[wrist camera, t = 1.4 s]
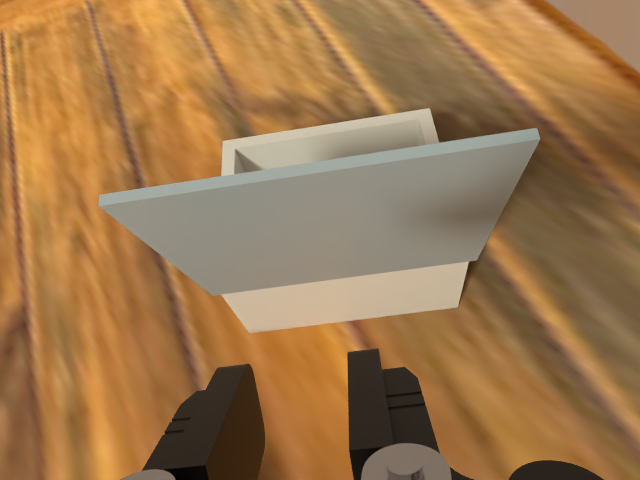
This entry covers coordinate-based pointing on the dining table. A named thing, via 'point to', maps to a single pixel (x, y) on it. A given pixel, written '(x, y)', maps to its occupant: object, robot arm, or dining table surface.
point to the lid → (331, 214)
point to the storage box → (354, 292)
